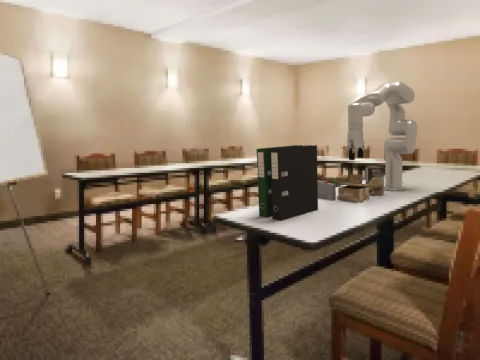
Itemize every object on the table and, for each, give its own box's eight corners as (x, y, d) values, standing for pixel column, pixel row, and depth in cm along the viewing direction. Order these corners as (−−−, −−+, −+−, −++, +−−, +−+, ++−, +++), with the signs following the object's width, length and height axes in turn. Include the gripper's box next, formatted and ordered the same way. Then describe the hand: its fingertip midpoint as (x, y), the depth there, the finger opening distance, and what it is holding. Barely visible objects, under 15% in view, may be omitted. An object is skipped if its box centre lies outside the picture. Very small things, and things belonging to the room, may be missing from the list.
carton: (349, 196, 204) (349, 184, 203) (369, 198, 195) (369, 186, 194) (338, 200, 196) (338, 187, 195) (358, 202, 187) (358, 189, 186)
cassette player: (335, 199, 198) (335, 182, 196) (332, 200, 196) (332, 182, 195) (315, 196, 211) (315, 179, 209) (312, 196, 209) (311, 180, 208)
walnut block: (353, 183, 197) (354, 174, 197) (361, 184, 193) (362, 174, 193) (348, 183, 193) (349, 174, 193) (357, 184, 190) (358, 174, 190)
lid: (348, 184, 203) (349, 182, 203) (369, 185, 194) (369, 184, 194) (338, 184, 195) (338, 182, 195) (359, 186, 186) (359, 184, 186)
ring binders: (297, 206, 186) (296, 145, 182) (320, 210, 175) (319, 145, 170) (259, 216, 169) (256, 148, 165) (281, 221, 158) (279, 149, 153)
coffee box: (367, 195, 204) (367, 168, 202) (364, 193, 210) (365, 166, 208) (384, 195, 203) (384, 167, 201) (381, 193, 209) (381, 166, 207)
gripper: (356, 126, 198) (357, 156, 201) (340, 128, 186) (341, 160, 189) (369, 125, 192) (370, 157, 195) (354, 127, 181) (355, 161, 183)
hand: (356, 158), depth 192 cm, fingers open, 9 cm apart
